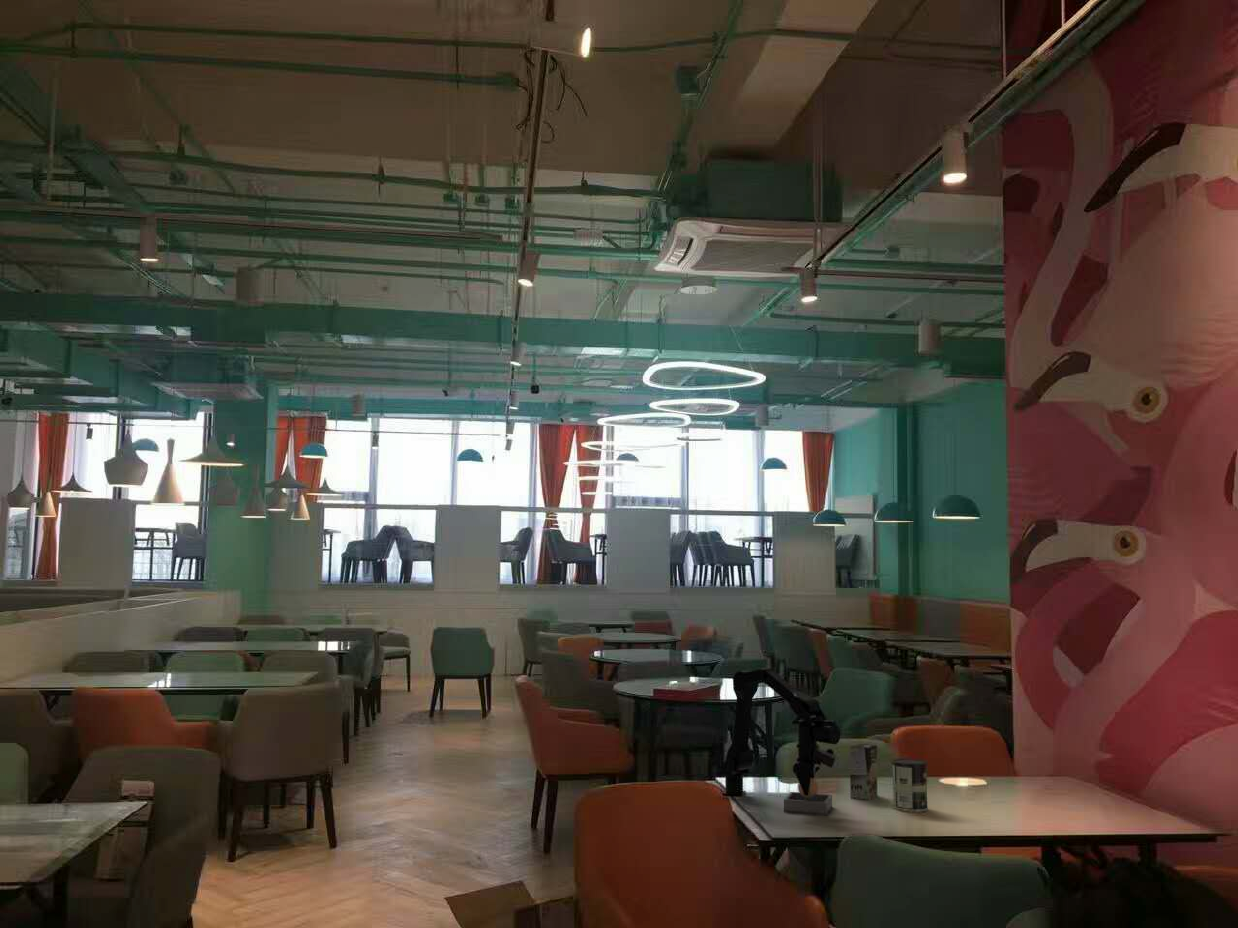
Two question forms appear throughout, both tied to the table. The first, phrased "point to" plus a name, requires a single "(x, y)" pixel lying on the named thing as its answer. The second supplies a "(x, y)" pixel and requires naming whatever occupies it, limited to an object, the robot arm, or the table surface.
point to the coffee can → (909, 785)
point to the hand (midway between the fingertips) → (807, 793)
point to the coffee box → (863, 771)
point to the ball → (812, 789)
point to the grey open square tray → (808, 803)
